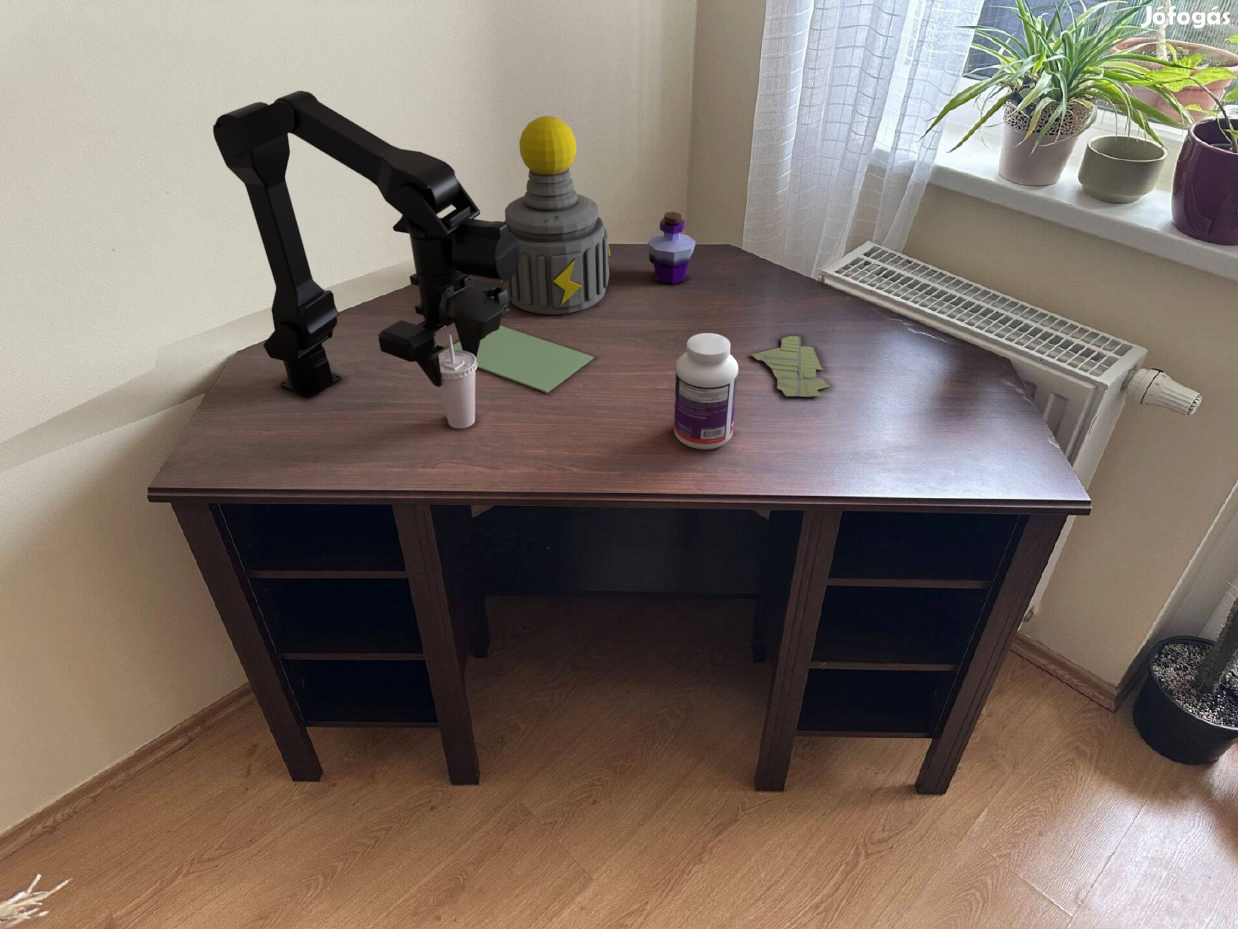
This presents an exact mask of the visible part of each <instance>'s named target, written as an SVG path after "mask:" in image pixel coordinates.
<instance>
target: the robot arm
mask: <svg viewBox="0 0 1238 929" xmlns="http://www.w3.org/2000/svg"><path fill="white" fill-rule="evenodd" d="M212 133H213V138H214V141H215V143H216V146H217V147H218V150H219V152H220V155H221V157H222V159H223V161H224V164H225V166H226V167H227V169H229V170H230V172H232V173H233V174H234V175H235V176H236V177H237V178H238V179H239V180H240V181H241V182H242V183H243V184H244V186H245V189H246V192H247V196H248V199H249V202H250V206H251V208H252V213H253V216H254V219H255V222H256V225H257V228H258V232H259V235H260V239H261V241H262V245H263V249H264V251H265V252H264V253H265V255H266V259H267V262H268V265H269V268H270V271H271V276H272V278H273V281H274V285H275V291H274V296H273V300H272V305H271V315H272V322H273V328H274V330H273V331H272V333H271V334H270V335H269V336H268V338H267V339H266V341H264V343H263V345H262V346H263V349H264V350H265V352H266V353H267V355H268V358H270V359H274V360H278V361H283V366H284V368H285V372H286V376H287V378H286V379H284V380H282V381H281V382H280V383H279V385H280V388H283V389H285V390H287V391H290V392H292V393H295V394H296V395H299V396H301V397H304V398H305V399H311V398H313V397H314V396H316V395H318V394H320V393H322V392H323V391H325V390H326V389H328V388H329V387H332V386H334V385H335V384H337V383H338V382H340V381H341V380H342V377H341V376H340V375H339V374H337V373H334V372H332V369H331V365H330V362H329V361H330V360H329V358H328V356H327V353H326V348H325V347H324V346H323V344H324V343H325V342H326V341H328V340H329V339H331V338H333V334H334V329H335V328H336V326H337V325H338V317H339V316H340V312H339V310H338V309H337V306H336V302H335V295H334V293H333V291H332V290H330V289H327V290H325V289H323V288H322V287H321V286H320V285H319V284H318V283H317V282H316V281H315V280H314V277H313V275H312V271H311V269H310V268H311V267H310V264H309V261H308V257H307V253H306V250H305V246H304V243H303V238H302V235H301V232H300V227H299V225H298V221H297V217H296V213H295V210H294V207H293V206H294V205H293V202H292V199H291V194H290V191H289V187H288V185H287V184H288V183H287V181H286V174H287V169H288V164H289V159H290V156H291V148H290V141H289V134H291V135H294V136H296V137H297V138H299V139H300V140H302V141H303V142H306V143H307V144H309V145H310V146H312V147H314V148H315V149H317V150H319V151H320V152H322V153H324V154H325V155H327V156H329V157H330V158H332V159H333V160H335V161H337V162H339V163H340V164H342V165H344V166H345V167H347V168H348V169H350V170H352V171H353V172H355V173H356V174H358V175H360V176H361V177H363V178H365V179H367V180H368V181H370V182H371V183H373V184H374V185H375V186H376V187H377V189H378V191H379V192H380V194H381V196H382V198H383V200H384V201H385V202H386V203H387V204H389V205H390V206H391V207H392V208H393V209H395V210H396V211H397V212H398V213H400V214H401V217H400V218H399V220H398V221H396V223H395V224H394V225H393V226H392V230H393V231H394V232H397V233H401V234H402V233H403V234H409V239H410V245H411V246H410V247H411V252H412V258H413V263H414V264H413V265H414V270H415V273H413V274H412V275H409V282H410V285H413V286H417V289H418V294H419V295H418V296H419V300H420V303H418V304H416V305H414V311H415V314H417V315H419V316H422V317H423V319H424V320H422V321H420V322H419V323H417V324H416V323H412V322H409V321H407V320H405V319H404V320H403V319H401V320H398V321H397V322H395V323H393V324H391V325H389V326H387V327H386V328H383V329H382V330H381V331H380V332H379V334H378V335H377V336H378V344H379V348H380V352H382V353H384V354H387V355H390V356H393V357H395V358H398V359H400V360H403V361H405V362H409V363H413V362H416V363H417V365H418V366H419V368H421V370H422V371H423V373H424V374H425V375H426V377H427V378H428V379H429V381H430V382H431V384H432V385H433V386H435V387H440V386H441V371H440V363H439V354H440V353H441V352H443V351H444V350H445V347H444V346H442V345H439V344H437V341H436V334H438V333H439V332H441V331H443V330H446V328H448V327H450V326H452V325H453V324H454V326H455V329H456V333H457V337H458V340H459V341H460V343H461V347H462V350H463V351H467V352H470V353H472V354H473V355H474V356H475V357H476V358H477V353H478V349H479V345H480V341H481V340H482V339H484V338H485V337H486V336H487V335H489V334H490V333H492V332H493V331H497V330H498V329H499V327H500V326H501V322H502V318H504V317H505V316H507V315H509V314H510V309H509V306H510V300H509V298H508V293H507V289H506V288H504V287H503V285H501V283H500V284H499V283H498V284H497V283H493V282H489V281H486V280H483V279H479V278H486V279H492V280H497V281H501V280H503V281H507V280H510V279H511V278H512V276H513V275H514V273H515V271H516V269H517V266H518V262H519V243H517V241H516V238H515V236H514V235H513V234H512V233H510V232H508V227H507V223H506V222H504V221H501V220H494V221H490V220H485V219H484V220H483V219H477V217H479V216H480V215H481V210H480V209H479V206H478V205H477V204H476V203H475V202H474V201H473V199H472V198H471V196H470V195H469V193H468V192H467V191H466V189H465V188H464V187H463V185H462V183H461V182H460V181H459V180H458V178H457V176H456V171H455V170H454V168H453V167H452V166H451V165H450V164H449V163H447V162H446V161H444V160H442V159H440V158H438V157H435V156H432V155H430V154H429V153H428V154H427V153H425V152H423V151H419V150H418V151H417V150H411V149H404V148H401V147H397V146H395V145H392V144H390V143H389V142H387V141H386V140H384V139H382V138H380V137H379V136H377V135H375V134H374V133H372V132H371V131H369V130H367V129H365V128H364V127H362V126H360V125H359V124H358V123H356V122H354V121H353V120H350V119H349V118H347V117H345V116H343V115H342V114H341V113H339V112H337V111H336V110H334V109H332V108H330V107H329V106H327V105H325V104H324V103H322V102H320V101H319V100H318V98H317V97H316V96H315V95H314V94H313V93H311V92H309V91H306V90H305V91H304V90H297V91H293V92H291V93H288V94H285V95H283V96H281V97H278V98H277V99H275V100H274V101H273V103H270V104H268V103H267V102H263V101H256V102H253V103H250V104H247V105H245V106H242V107H239V108H237V109H234V110H231V111H229V112H226V113H224V114H221V115H220V116H218V117H217V119H216V120H215V122H214V124H213V125H212ZM450 206H452V207H453V208H455V209H453V210H451V211H450V212H449V213H447V214H445V215H444V216H443V217H440V216H438V215H439V214H440V213H441V212H443V211H444V210H446V209H448V208H449V207H450ZM472 276H475V277H479V278H476V279H474V280H473V277H472Z"/></svg>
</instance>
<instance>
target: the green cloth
mask: <svg viewBox="0 0 1238 929" xmlns="http://www.w3.org/2000/svg"><path fill="white" fill-rule="evenodd" d="M453 350H462V347H461V343H460V340H459V341H458V342H456V343H455V344H453ZM445 351H449V347H448V348H446V349H444V350H442V352H445ZM442 352H441V353H442ZM594 358H595V357H594V355H590V354H587V353H584V352H581V351H577V350H574V349H572V348H568V347H565V346H563V345H559V344H557V343H554V342H551V341H549V340H548V341H547V340H545V339H542V338H539V337H536V336H533V335H529V334H527V333H524V332H520V331H519V330H516V329H512V328H510V327H506V326H503V325H500V327H499V329H498V330H497V331H493V332H492V333H490V334H489V335H487V336H486V337H485V338H484V339H482V340H481V341H480V345H479V349H478V353H477V358H476V361H477V369H480V370H482V371H485V372H488V373H491V374H494V375H496V376H499V377H501V378H505V379H507V380H510V381H513V382H515V383H518V384H521V385H523V386H526V387H529V388H531V389H534V390H536V391H540V392H543V393H544V394H548V393H549V392H551V391H552V390H554V389H555V388H556V387H558V386H559V385H560V384H562V383H563V382H564V381H566V380H567V379H568V378H569V377H571V376H572V375H574V374H575V373H577V371H579V370H580V369H581V368H583V367H584V366H586V365H587V364H588V363H590V362H591V361H592V360H593V359H594Z"/></svg>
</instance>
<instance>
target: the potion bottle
mask: <svg viewBox="0 0 1238 929" xmlns="http://www.w3.org/2000/svg"><path fill="white" fill-rule="evenodd" d="M685 229H686V221H685V220H684V219H682V214H681V213H679V212H676V211H668V212H667V211H666V212H665V213H664V214H663V218H662V219H661V220H660V221H659V230H660V231H661V232H662V234H656V235H652V237H651V238H650V240H649V241H648V242H647V248H648V259H649V260H648V261H649V262H650V264H653V268H654V269H653V270H654V272H655V273H654V274H655V281H657V282H659V283H660V284H662V285H669V286H675V285H679V284H683V283H684V282H685V280H686V279H687V277H686V275H687V273H688V268H689V264H690V261H691V259H692V258H693V254H694V252H695V251H694V250H695V247H696V244H697V243H696V242H697V241H696V240H695V239H693V238H692V237H690V236H689V235H687V234H681V233H683V231H684V230H685Z"/></svg>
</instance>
